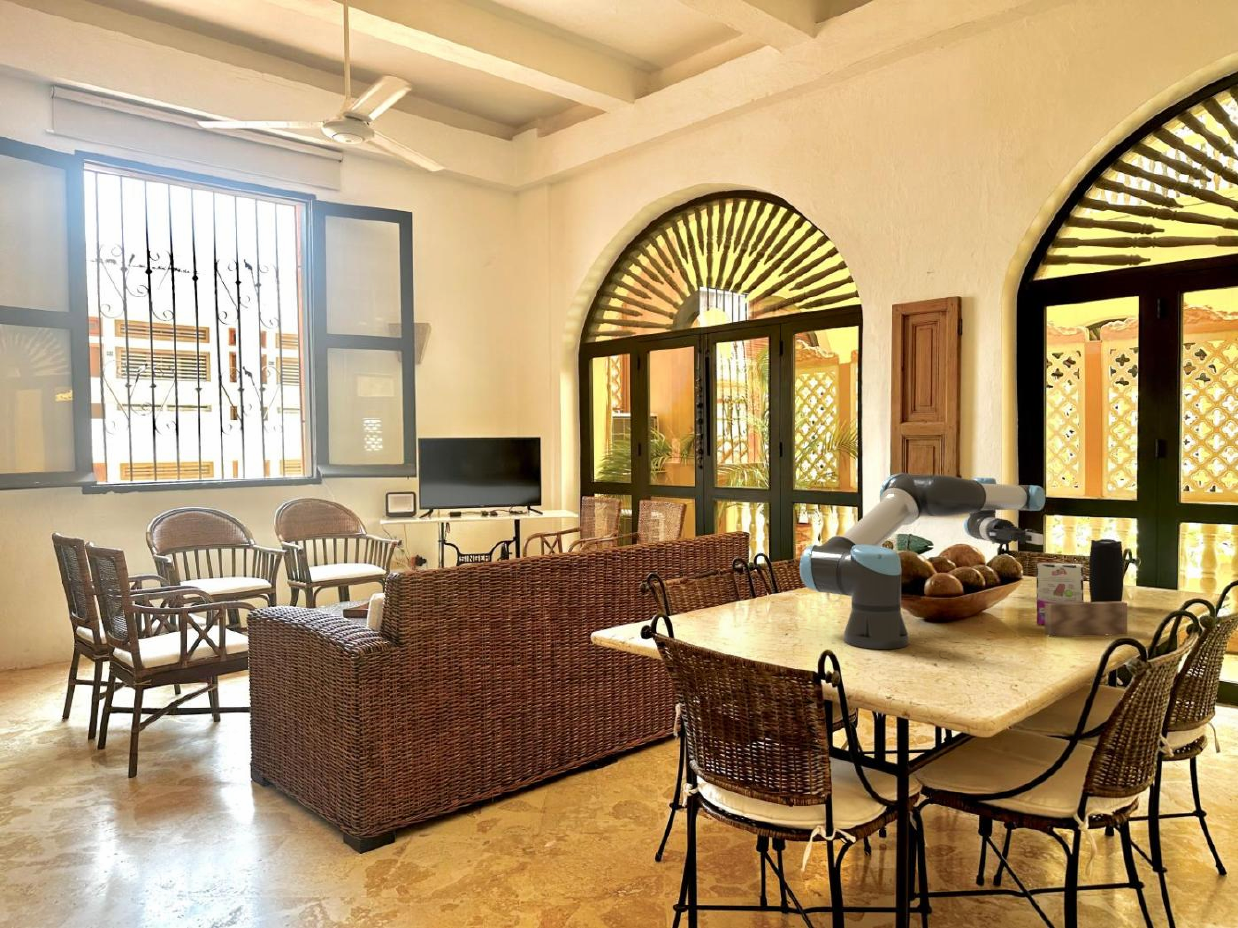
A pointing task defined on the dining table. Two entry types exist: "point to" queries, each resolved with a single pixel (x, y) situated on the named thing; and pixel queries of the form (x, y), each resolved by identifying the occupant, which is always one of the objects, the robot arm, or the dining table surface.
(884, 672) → the dining table surface
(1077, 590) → the candy bar box
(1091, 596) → the portable speaker
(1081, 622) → the walnut board
